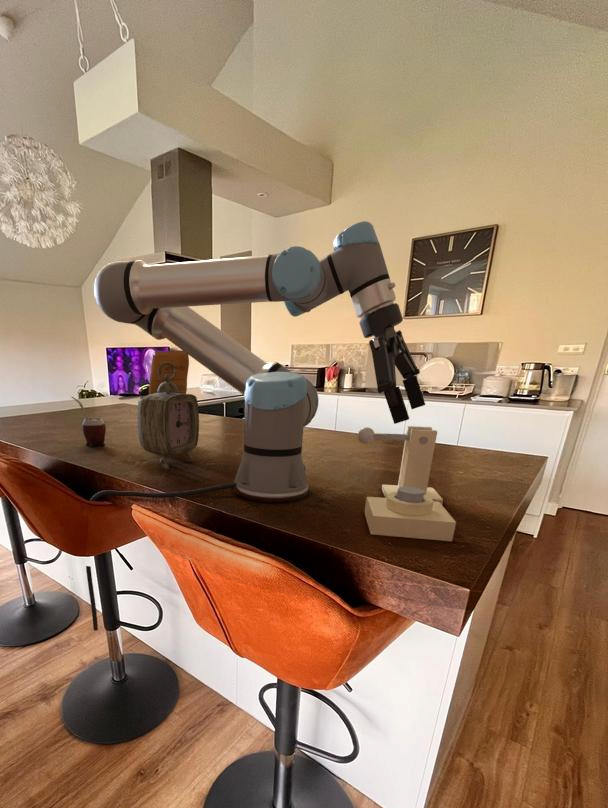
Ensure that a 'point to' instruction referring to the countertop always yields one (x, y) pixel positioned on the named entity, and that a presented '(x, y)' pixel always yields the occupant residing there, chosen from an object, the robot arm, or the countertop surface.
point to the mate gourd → (93, 429)
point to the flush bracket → (417, 462)
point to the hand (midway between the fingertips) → (410, 414)
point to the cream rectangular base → (409, 518)
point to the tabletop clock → (168, 420)
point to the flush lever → (378, 436)
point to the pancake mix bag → (169, 370)
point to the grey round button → (410, 494)
